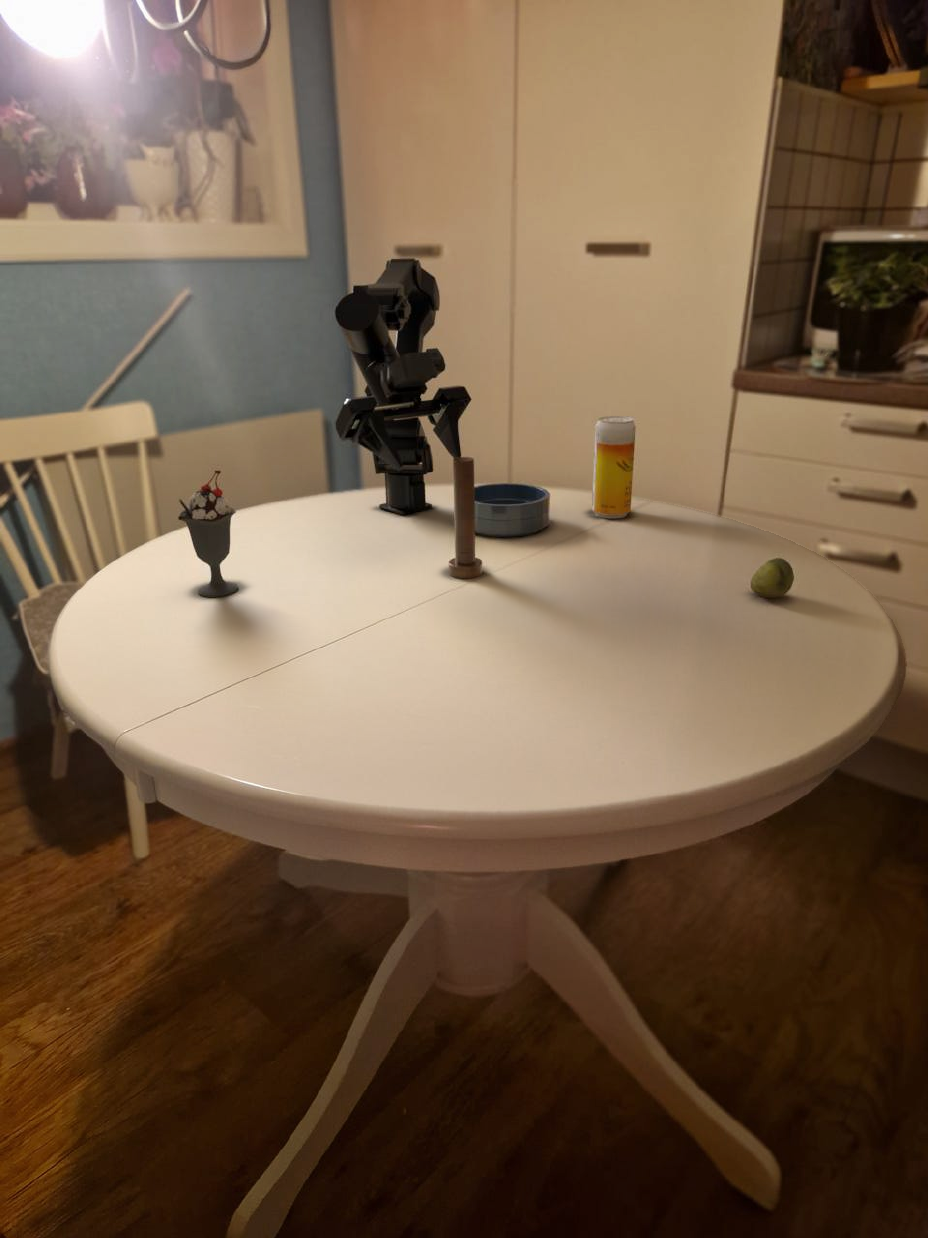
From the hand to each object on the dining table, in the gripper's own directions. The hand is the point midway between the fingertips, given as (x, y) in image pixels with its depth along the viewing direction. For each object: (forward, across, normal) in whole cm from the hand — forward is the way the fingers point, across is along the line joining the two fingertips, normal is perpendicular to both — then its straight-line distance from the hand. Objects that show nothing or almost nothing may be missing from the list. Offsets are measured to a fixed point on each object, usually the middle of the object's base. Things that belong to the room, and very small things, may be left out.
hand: (430, 463), depth 114 cm
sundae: (+5, -28, +14) cm, 32 cm away
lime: (+36, +24, -17) cm, 46 cm away
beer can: (+9, +34, +10) cm, 37 cm away
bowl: (+5, +17, +14) cm, 23 cm away
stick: (+15, 0, +4) cm, 15 cm away
